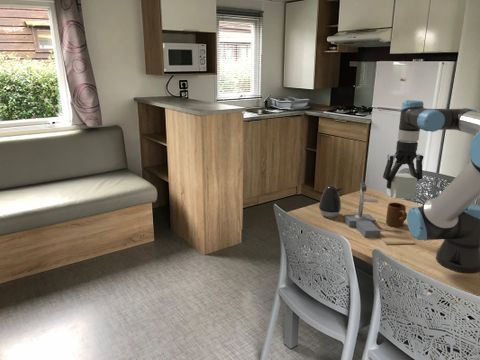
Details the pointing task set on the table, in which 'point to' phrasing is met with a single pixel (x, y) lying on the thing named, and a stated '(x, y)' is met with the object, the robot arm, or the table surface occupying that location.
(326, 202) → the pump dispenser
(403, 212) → the mug
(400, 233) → the mat
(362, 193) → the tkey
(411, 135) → the robot arm
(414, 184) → the light grey cube
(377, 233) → the housing
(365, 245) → the table surface
